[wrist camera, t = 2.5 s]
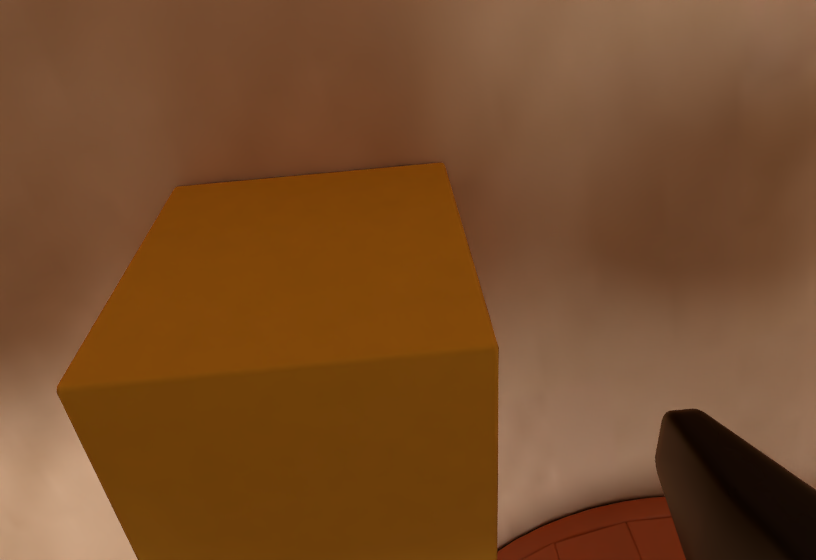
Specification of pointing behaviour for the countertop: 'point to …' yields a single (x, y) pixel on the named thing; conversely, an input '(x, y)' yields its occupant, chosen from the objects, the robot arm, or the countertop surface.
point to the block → (297, 375)
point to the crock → (604, 535)
